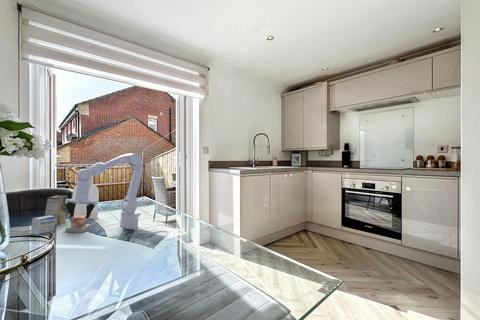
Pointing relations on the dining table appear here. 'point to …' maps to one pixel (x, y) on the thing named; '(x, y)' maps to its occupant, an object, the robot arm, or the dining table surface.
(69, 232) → the bottom block
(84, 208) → the milk
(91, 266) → the dining table surface
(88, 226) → the top block
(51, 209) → the coffee box
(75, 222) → the terracotta cube
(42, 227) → the medicine box
